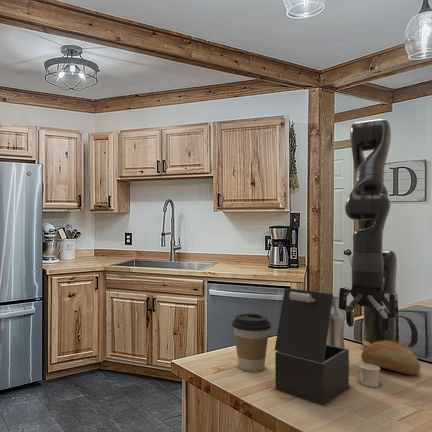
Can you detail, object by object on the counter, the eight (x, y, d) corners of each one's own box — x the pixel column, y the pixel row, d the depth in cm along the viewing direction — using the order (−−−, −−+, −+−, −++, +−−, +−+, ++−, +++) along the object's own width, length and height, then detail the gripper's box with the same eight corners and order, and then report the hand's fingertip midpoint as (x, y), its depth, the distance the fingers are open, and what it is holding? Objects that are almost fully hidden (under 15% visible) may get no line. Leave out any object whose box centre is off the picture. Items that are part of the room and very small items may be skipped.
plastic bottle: (348, 367, 127) (348, 300, 127) (324, 366, 128) (324, 299, 128) (343, 360, 133) (342, 295, 133) (319, 358, 134) (319, 295, 134)
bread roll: (365, 359, 134) (365, 333, 134) (422, 370, 124) (422, 342, 124) (358, 367, 126) (358, 340, 126) (417, 380, 117) (417, 351, 117)
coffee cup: (278, 366, 128) (277, 316, 128) (259, 377, 120) (259, 324, 120) (244, 357, 136) (243, 310, 136) (224, 367, 127) (224, 317, 127)
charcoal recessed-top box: (303, 373, 123) (303, 339, 123) (348, 386, 114) (348, 349, 113) (275, 389, 112) (275, 352, 112) (323, 405, 103) (323, 364, 103)
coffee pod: (357, 379, 118) (357, 362, 118) (377, 380, 117) (377, 364, 117) (361, 386, 114) (361, 369, 113) (382, 388, 112) (382, 371, 112)
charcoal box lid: (286, 288, 116) (276, 284, 112) (333, 294, 107) (324, 290, 103) (275, 350, 112) (266, 348, 109) (323, 362, 103) (314, 360, 100)
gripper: (401, 269, 112) (401, 331, 112) (345, 265, 122) (345, 321, 123) (392, 272, 107) (392, 337, 107) (334, 267, 117) (334, 326, 117)
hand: (367, 329), depth 115 cm, fingers open, 8 cm apart
